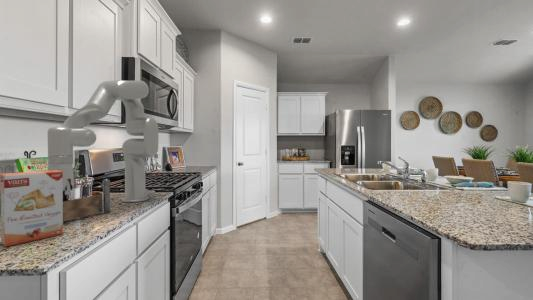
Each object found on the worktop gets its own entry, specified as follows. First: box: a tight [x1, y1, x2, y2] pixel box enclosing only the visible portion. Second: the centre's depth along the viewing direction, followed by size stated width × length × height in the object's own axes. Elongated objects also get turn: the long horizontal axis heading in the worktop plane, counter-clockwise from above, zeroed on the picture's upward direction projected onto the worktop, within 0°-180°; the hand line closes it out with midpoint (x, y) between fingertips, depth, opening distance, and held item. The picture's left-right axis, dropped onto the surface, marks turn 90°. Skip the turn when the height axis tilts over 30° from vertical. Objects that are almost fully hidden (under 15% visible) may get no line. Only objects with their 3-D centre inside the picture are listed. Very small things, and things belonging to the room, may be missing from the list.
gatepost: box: [101, 178, 111, 215], centre depth 114 cm, size 3×3×14 cm
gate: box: [63, 193, 103, 222], centre depth 103 cm, size 21×2×7 cm, turn 157°
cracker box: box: [0, 170, 64, 247], centre depth 84 cm, size 14×6×21 cm, turn 143°
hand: (61, 209), depth 101 cm, fingers closed
